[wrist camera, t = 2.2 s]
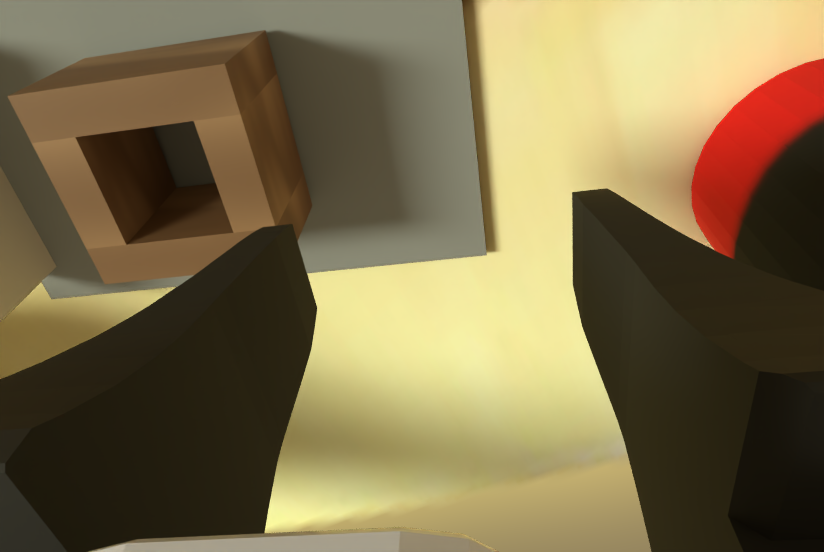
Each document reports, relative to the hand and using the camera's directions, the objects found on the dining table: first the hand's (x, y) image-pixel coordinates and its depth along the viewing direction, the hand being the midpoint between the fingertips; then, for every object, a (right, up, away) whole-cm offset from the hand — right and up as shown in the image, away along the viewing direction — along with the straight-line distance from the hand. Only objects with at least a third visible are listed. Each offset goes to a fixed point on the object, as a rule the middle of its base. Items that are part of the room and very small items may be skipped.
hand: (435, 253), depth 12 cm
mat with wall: (-7, +5, +9) cm, 13 cm away
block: (-7, +5, +9) cm, 13 cm away
